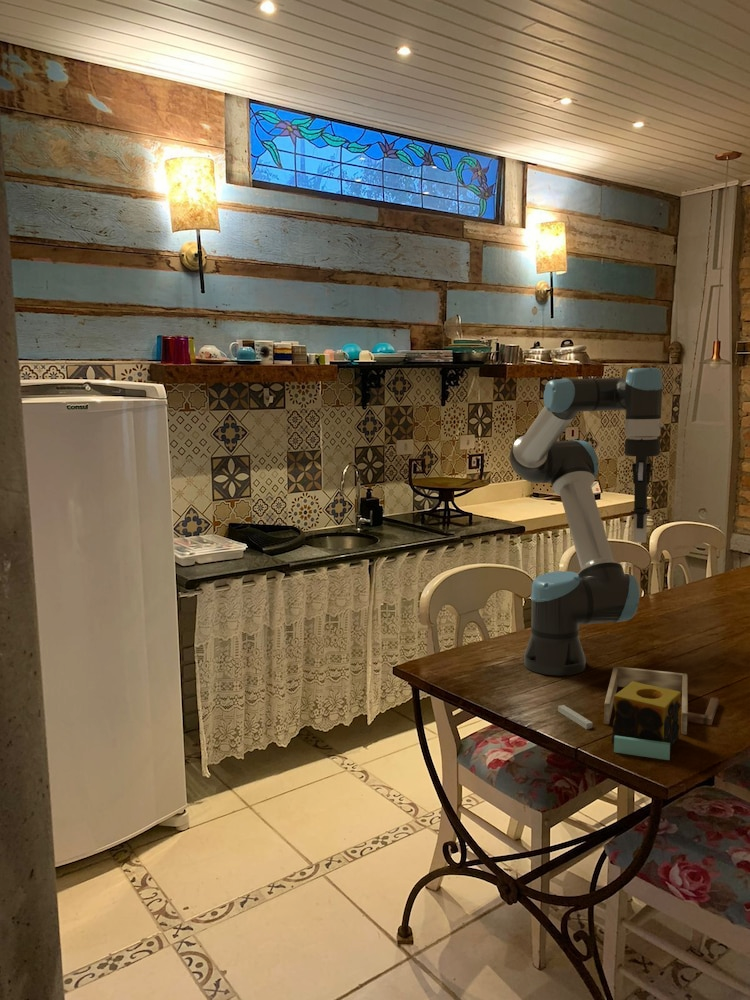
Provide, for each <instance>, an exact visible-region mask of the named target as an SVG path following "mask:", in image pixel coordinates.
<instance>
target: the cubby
mask: <svg viewBox="0 0 750 1000" xmlns="http://www.w3.org/2000/svg"><path fill="white" fill-rule="evenodd" d="M632 681H634V682H638V683H642V684H647V685H652V686H657V687H662V688H666V689H670V690H675V691H679V692H681V723H680V724H681V725H680V726H681V727H680V728H681V729H680V731H681V732H680V733H681V735H686V736H687V734H688V721H687V713H688V673H681V672H672V671H663V670H655V669H654V670H653V669H645V668H636V667H634V668H633V667H628V666H627V667H626V666H625V667H624V666H613V668H612V672H611V677H610V679H609V684H608V688H607V692H606V695H605V701H604V706H603V707H604V708H603V710H604V711H603V713H604V714H603V725H610V722H611V717H612V712H613V709H614V708H613V707H614V695H615V694H616V693H617V691H618V687H620V688H625V687H626V686H627V685H629V683H630V682H632Z"/></svg>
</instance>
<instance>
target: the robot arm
mask: <svg viewBox="0 0 750 1000" xmlns="http://www.w3.org/2000/svg"><path fill="white" fill-rule="evenodd" d="M625 376H626V377H622V376H621V377H605V378H602V377H601V378H596V377H595V378H565V377H564V378H560V379H558V378H557V379H551V380H549V381H548V382H547V383H546V384H545V386H544V390H543V403H544V406H543V408H542V409H541V411H540V412H539V414H538V415H537V416H536V418H535V419H534V420H533V422H532V423H531V425H530V427H529V428H528V429H527V431H526V432H525V434H524V435H521V436H520V437H517V439H516V440H515V441H514V443H513V445H511V448H510V451H509V462H510V465H511V468H512V470H513V471H514V473H516V475H517V476H518V477H520V478H521V479H523V480H524V481H526V482H529V483H532V484H533V483H534V484H544V483H545V484H547V483H550V484H551V489H552V491H553V493H555V494H556V495H559V496H560V499H561V503H562V505H563V510H564V514H565V517H566V521H567V524H568V528H569V532H570V534H571V538H572V541H573V542H572V543H573V545H574V550H575V553H576V556H577V560H578V563H579V566H580V569H579V571H578V573H576V572H574V571H569V570H566V571H563V570H562V571H561V570H559V571H558V570H555V571H550V572H546V573H542V574H540V575H538V576H537V577H535V578H534V580H533V581H532V582H531V583H532V584H531V593H530V599H531V601H530V602H531V603H530V604H531V605H530V606H531V607H530V608H531V615H530V617H531V619H530V620H531V622H530V624H531V625H530V626H531V627H530V628H531V629H530V631H531V632H530V633H531V634H530V636H529V639H528V643H527V646H526V648H525V650H524V655H523V665H524V667H525V668H527V670H529V671H532V672H534V673H537V674H541V675H546V676H547V675H548V676H558V677H559V676H561V677H562V676H572V675H578V674H579V673H581V672H583V671H585V669H586V655H585V653H584V652H585V651H584V650H583V647H582V643H581V641H580V637H579V636H580V633H579V632H580V631H579V630H580V629H579V628H580V625H584V624H585V625H591V624H605V623H606V624H608V623H614V624H616V623H618V622H619V623H620V622H626V621H630V620H631V619H633V618H634V616H635V615H636V613H637V611H638V608H639V603H640V588H639V583H638V581H637V579H636V577H635V576H634V575H633V574H630V573H629V574H628V573H626V574H625V571H624V567H623V565H622V564H621V563H620V562H618V561H616V560H614V556H613V553H612V550H611V545H610V543H609V540H608V537H607V533H606V530H605V527H604V524H603V521H602V517H601V514H600V511H599V507H598V504H597V501H596V498H595V495H594V491H593V487H592V486H593V484H594V482H595V479H596V478H597V476H598V472H599V464H598V463H599V458H598V456H597V453H596V450H595V448H594V447H593V445H592V444H590V443H589V442H588V441H586V440H580V439H578V440H577V439H569V440H559V438H560V437H561V436H562V434H563V433H564V432H565V431H566V429H567V428H568V427H569V425H570V424H571V423H572V422H573V420H575V418H576V417H577V415H578V414H579V413H580V412H598V411H599V412H603V411H611V412H612V411H625V419H624V436H625V437H627V438H626V439H625V440H624V455H625V456H629V457H635V463H634V462H633V463H632V465H631V466H632V467H631V471H632V483H633V485H634V492H633V493H634V494H633V495H634V496H633V497H634V502H633V503H634V504H633V510H631V511H630V514H631V515H633V541H632V543H641V544H642V543H645V544H646V543H647V533H648V532H647V527H648V526H647V525H648V514H650V513H651V509H648V490H649V489H648V488H649V484H650V481H651V471H652V463H649V457H658V456H660V454H661V439H660V438H658V437H660V436H661V430H662V429H661V428H663V427H664V426H665V424H664V423H663V422H661V420H662V419H661V418H662V407H663V406H662V402H663V386H664V384H663V372H662V370H661V369H660V368H658V367H641V368H640V367H635V368H628V370H627V372H626V375H625Z"/></svg>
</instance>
